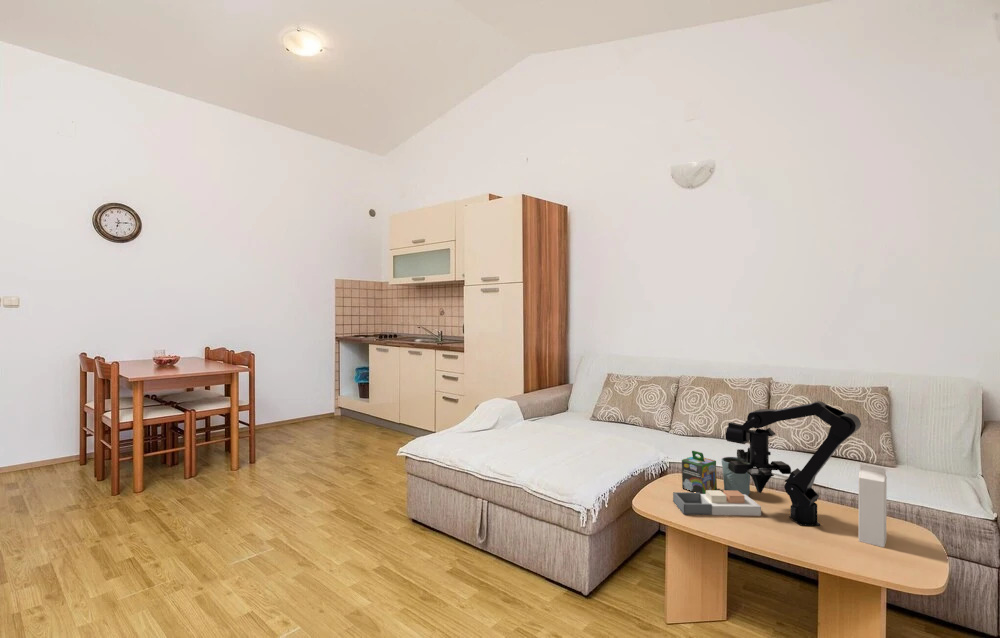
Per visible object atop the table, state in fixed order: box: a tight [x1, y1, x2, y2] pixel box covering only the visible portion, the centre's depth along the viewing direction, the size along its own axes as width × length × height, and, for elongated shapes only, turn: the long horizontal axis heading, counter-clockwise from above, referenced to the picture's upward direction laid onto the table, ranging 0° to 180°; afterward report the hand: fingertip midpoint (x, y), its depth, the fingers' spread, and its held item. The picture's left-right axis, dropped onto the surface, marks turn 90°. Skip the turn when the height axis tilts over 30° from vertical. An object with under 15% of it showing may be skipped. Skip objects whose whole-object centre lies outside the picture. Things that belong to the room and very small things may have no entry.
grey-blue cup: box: [721, 456, 751, 497], centre depth 182 cm, size 10×10×12 cm
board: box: [700, 494, 762, 517], centre depth 167 cm, size 16×11×3 cm
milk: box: [858, 464, 888, 548], centre depth 143 cm, size 6×6×22 cm
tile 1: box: [706, 489, 727, 503], centre depth 167 cm, size 5×5×2 cm
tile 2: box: [722, 489, 745, 503], centre depth 167 cm, size 5×5×2 cm
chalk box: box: [681, 450, 718, 494], centre depth 185 cm, size 9×9×15 cm
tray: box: [672, 491, 713, 516], centre depth 167 cm, size 9×11×4 cm
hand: (759, 492), depth 166 cm, fingers closed
